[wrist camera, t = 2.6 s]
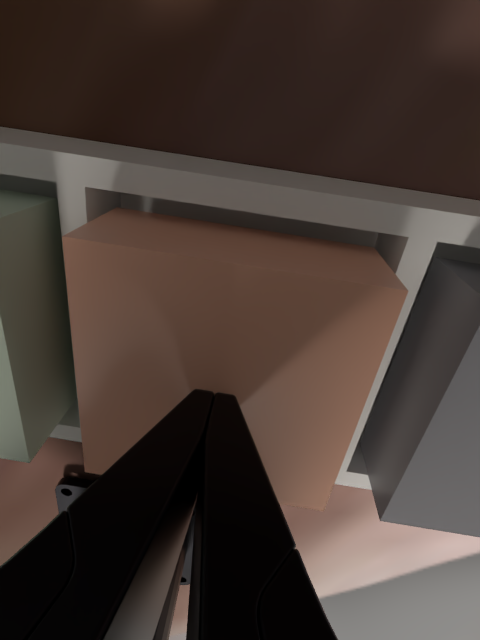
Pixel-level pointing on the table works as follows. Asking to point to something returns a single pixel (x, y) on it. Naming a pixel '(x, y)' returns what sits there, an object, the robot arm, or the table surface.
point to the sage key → (32, 325)
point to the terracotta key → (227, 337)
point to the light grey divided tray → (247, 219)
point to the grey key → (432, 410)
